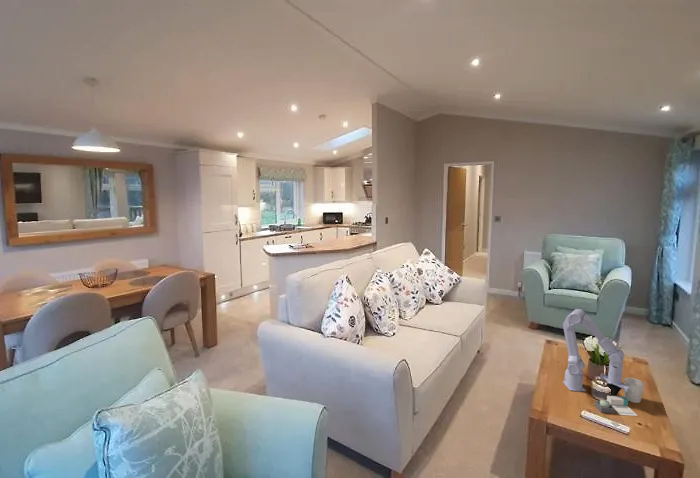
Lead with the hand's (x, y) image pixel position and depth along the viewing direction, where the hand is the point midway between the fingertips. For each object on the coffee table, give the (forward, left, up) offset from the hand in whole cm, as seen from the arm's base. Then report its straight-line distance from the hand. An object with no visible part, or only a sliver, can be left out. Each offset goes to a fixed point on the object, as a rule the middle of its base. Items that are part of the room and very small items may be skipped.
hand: (613, 397), depth 188 cm
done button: (+9, -9, -1) cm, 13 cm away
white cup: (-2, +10, -2) cm, 11 cm away
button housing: (+9, -9, -1) cm, 13 cm away
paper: (+9, 0, -1) cm, 9 cm away
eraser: (+3, 0, -2) cm, 4 cm away
